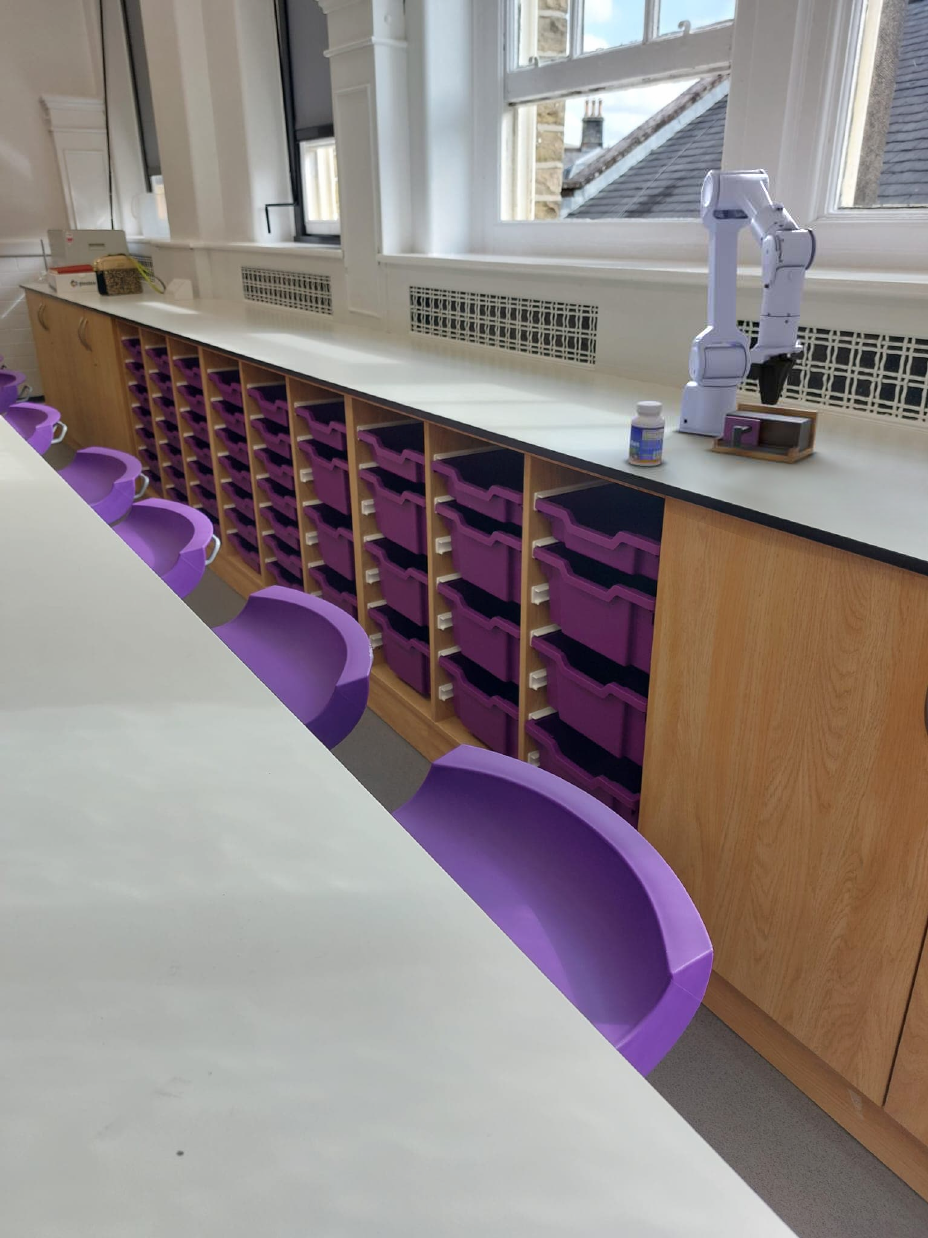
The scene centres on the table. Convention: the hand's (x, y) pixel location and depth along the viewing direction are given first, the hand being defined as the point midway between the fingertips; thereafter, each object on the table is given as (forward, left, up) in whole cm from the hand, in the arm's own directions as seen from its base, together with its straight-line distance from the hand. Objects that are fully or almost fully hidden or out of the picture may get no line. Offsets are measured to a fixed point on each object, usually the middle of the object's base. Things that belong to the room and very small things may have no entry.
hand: (769, 403), depth 141 cm
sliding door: (-5, 0, -8) cm, 10 cm away
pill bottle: (-15, -13, -10) cm, 21 cm away
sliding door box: (-3, +6, -9) cm, 11 cm away
